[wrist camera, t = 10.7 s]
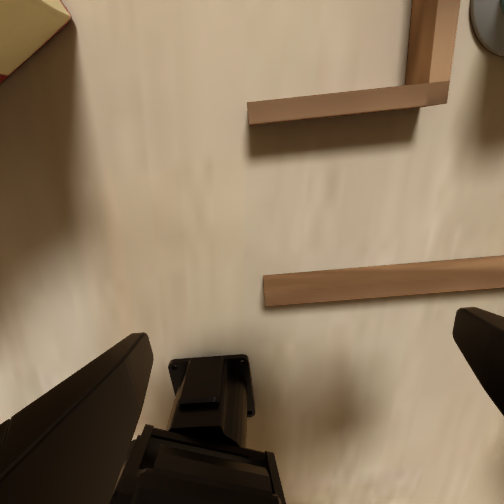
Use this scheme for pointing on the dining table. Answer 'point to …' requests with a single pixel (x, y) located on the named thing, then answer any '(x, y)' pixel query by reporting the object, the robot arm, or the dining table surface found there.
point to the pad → (489, 24)
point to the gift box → (27, 29)
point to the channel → (376, 100)
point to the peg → (502, 5)
